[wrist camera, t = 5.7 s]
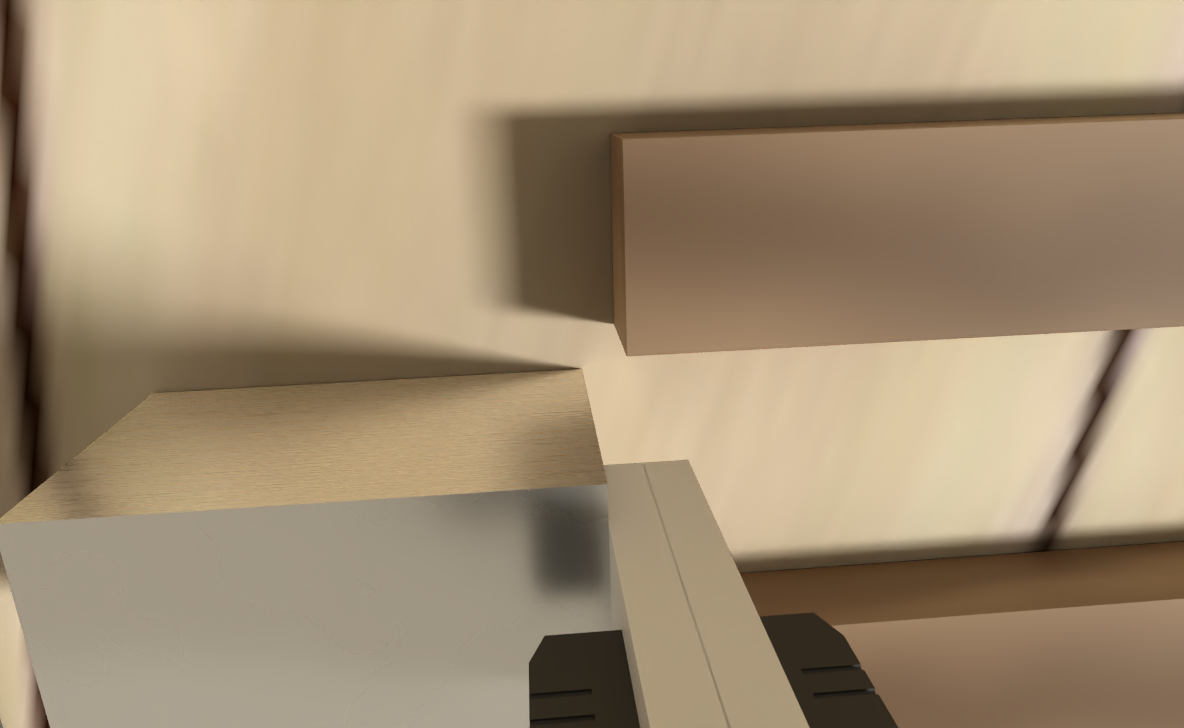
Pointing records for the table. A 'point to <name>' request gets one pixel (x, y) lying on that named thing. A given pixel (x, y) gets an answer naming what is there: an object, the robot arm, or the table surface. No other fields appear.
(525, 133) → the table surface
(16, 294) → the table surface
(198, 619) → the aluminium block
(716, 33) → the table surface
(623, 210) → the slot board
